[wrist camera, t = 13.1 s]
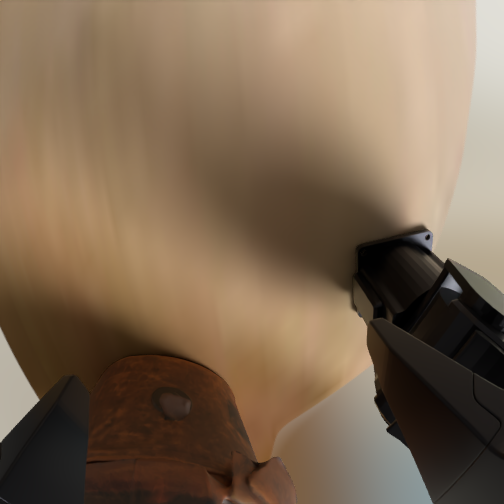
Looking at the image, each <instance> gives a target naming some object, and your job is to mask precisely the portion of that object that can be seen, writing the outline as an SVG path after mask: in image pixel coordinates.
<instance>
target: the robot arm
mask: <svg viewBox="0 0 504 504" xmlns="http://www.w3.org/2000/svg"><path fill="white" fill-rule="evenodd" d="M426 235H427V237H426V238H425V236H426ZM432 241H433V234H432V232H431V231H429V230H428V229H424V230H420V231H416V232H412V233H408V234H403V235H399V236H395V237H391V238H387V239H382V240H378V241H374V242H369V243H365V244H361V245H359V246H358V247H357V248H356V273H355V274H354V276H353V293H354V304H355V305H356V307H357V313H358V315H359V317H362V318H363V319H364V321H365V323H366V325H367V347H368V350H369V353H370V356H371V359H372V361H373V364H374V372H375V388H376V393H377V395H376V396H375V397H374V401H375V404H376V406H377V408H378V410H379V412H380V414H381V416H382V418H383V419H384V421H385V422H386V423H387V424H388V425H389V427H388V428H387V429H386V430H387V432H388V433H389V434H391V435H392V436H394V437H395V438H397V439H399V440H400V441H401V442H402V443H403V444H404V445H405V446H407V447H408V448H409V449H410V451H411V453H412V456H413V458H414V460H415V462H416V465H417V467H418V469H419V472H420V474H421V476H422V479H423V481H424V483H425V485H426V488H427V490H428V493H429V495H430V498H431V500H432V502H433V504H504V294H503V293H502V292H501V291H499V290H498V289H497V288H496V287H495V286H494V285H492V284H491V283H490V282H489V281H488V280H487V279H485V278H484V277H483V276H481V275H479V274H477V273H475V272H474V271H472V270H470V269H468V268H466V267H464V266H462V265H461V264H459V263H457V262H455V261H453V260H451V259H449V258H448V259H447V260H446V262H445V263H443V262H442V261H441V260H440V259H439V258H438V257H437V256H436V255H435V254H434V253H433V252H432ZM363 250H365V252H364V253H362V254H361V252H362V251H363ZM89 404H90V395H89V392H88V390H87V388H86V387H85V386H84V384H83V383H82V382H81V381H80V379H79V378H78V377H77V376H76V375H74V374H72V375H64V376H63V377H62V378H61V379H60V380H59V381H58V382H57V383H56V384H55V385H54V386H53V387H52V388H51V389H50V390H49V391H48V392H47V393H46V394H45V395H44V396H43V398H42V399H41V400H40V401H39V402H38V403H37V404H36V405H35V406H34V407H33V408H32V409H31V410H30V411H29V412H28V413H27V414H26V415H25V417H24V418H23V419H22V420H21V421H20V422H19V423H18V424H17V425H16V426H15V427H14V428H13V430H11V432H10V433H9V434H8V435H7V436H6V437H5V438H4V439H3V440H2V442H1V443H0V504H84V493H85V475H86V462H87V450H88V439H89Z"/></svg>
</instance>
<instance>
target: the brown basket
mask: <svg viewBox="0 0 504 504" xmlns="http://www.w3.org/2000/svg"><path fill="white" fill-rule="evenodd" d="M84 504H297V495H296V490H295V486H294V484H293V481H292V480H291V477H290V475H289V473H288V472H287V470H286V467H285V465H284V464H283V462H282V460H281V458H280V457H273V458H271V459H270V460H268V461H266V462H263V463H258V462H257V459H256V456H255V454H254V451H253V449H252V446H251V443H250V441H249V438H248V435H247V433H246V430H245V428H244V425H243V423H242V420H241V418H240V415H239V412H238V409H237V406H236V403H235V397H234V395H233V392H232V390H231V388H230V387H229V385H228V384H227V383H226V382H225V381H224V380H223V379H222V378H220V377H219V376H218V375H216V374H215V373H213V372H212V371H210V370H208V369H206V368H204V367H202V366H200V365H197V364H195V363H192V362H189V361H186V360H183V359H179V358H174V357H168V356H160V355H137V356H129V357H126V358H123V359H121V360H118V361H116V362H115V363H113V364H112V365H110V366H109V367H108V368H107V369H106V370H105V372H104V373H103V374H102V376H101V377H100V379H99V381H98V382H97V384H96V385H95V387H94V389H93V391H92V392H91V394H90V404H89V439H88V450H87V462H86V475H85V493H84Z"/></svg>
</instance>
